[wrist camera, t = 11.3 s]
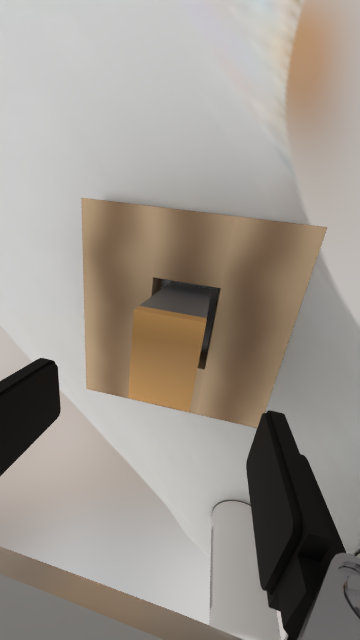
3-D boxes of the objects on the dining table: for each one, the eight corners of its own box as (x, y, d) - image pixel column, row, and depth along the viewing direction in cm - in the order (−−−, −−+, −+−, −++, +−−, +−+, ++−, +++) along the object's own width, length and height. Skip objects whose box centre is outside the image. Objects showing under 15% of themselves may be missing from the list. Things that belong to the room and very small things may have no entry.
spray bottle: (204, 519, 31) (190, 830, 15) (223, 492, 29) (231, 828, 12) (248, 538, 31) (283, 876, 14) (270, 512, 29) (344, 883, 12)
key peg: (211, 288, 20) (206, 322, 11) (200, 344, 23) (189, 412, 13) (171, 282, 21) (133, 309, 12) (164, 336, 23) (128, 397, 14)
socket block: (306, 231, 18) (327, 227, 14) (253, 403, 24) (259, 428, 20) (104, 206, 20) (81, 197, 16) (103, 370, 26) (86, 388, 23)
